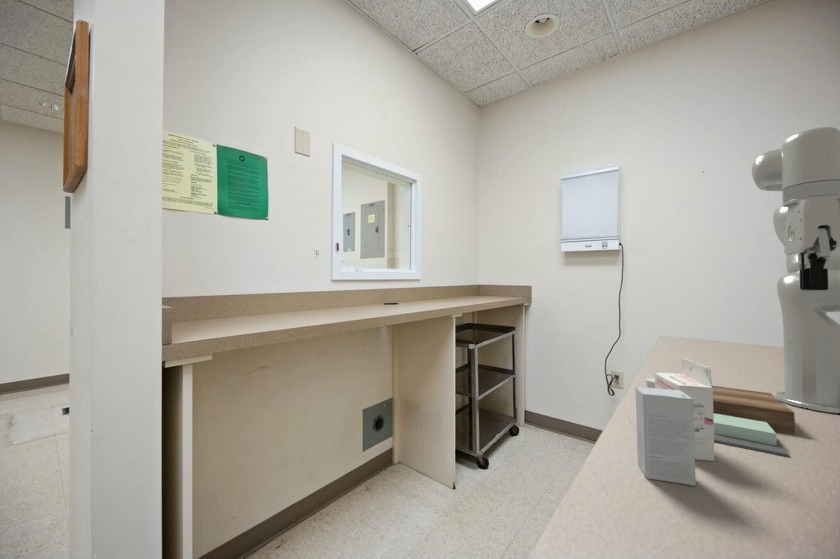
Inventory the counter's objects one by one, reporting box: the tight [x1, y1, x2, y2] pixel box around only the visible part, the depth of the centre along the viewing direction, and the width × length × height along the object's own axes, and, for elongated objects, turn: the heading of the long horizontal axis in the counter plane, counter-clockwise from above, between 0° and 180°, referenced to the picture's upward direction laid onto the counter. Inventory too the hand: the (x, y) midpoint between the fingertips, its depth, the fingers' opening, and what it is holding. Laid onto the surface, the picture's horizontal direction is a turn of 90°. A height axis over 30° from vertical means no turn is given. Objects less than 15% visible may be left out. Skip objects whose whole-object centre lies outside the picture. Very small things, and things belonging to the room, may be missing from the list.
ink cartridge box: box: [654, 357, 715, 462], centre depth 56 cm, size 9×5×15 cm, turn 168°
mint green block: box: [713, 413, 777, 446], centre depth 61 cm, size 6×8×2 cm
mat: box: [714, 433, 790, 458], centre depth 62 cm, size 12×13×1 cm
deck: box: [712, 385, 796, 435], centre depth 72 cm, size 14×16×4 cm
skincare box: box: [635, 386, 697, 487], centre depth 48 cm, size 6×4×12 cm
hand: (813, 289), depth 64 cm, fingers closed
